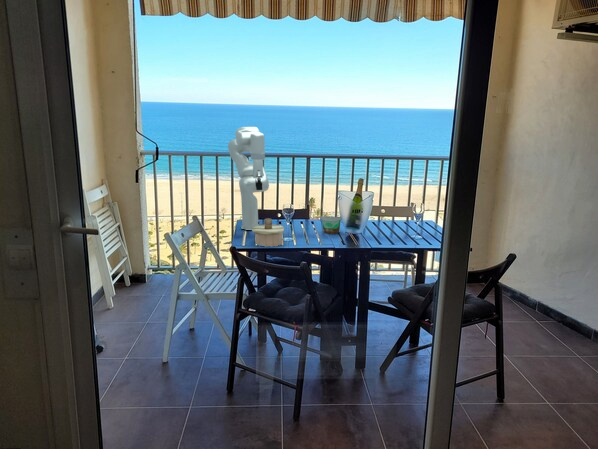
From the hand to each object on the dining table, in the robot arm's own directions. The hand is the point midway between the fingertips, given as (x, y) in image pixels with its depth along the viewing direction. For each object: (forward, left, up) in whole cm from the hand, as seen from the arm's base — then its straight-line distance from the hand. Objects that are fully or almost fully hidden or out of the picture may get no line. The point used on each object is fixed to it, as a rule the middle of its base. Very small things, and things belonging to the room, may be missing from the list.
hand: (258, 188), depth 239 cm
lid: (+10, +4, -21) cm, 24 cm away
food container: (-4, +41, -28) cm, 50 cm away
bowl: (+10, +4, -28) cm, 30 cm away
